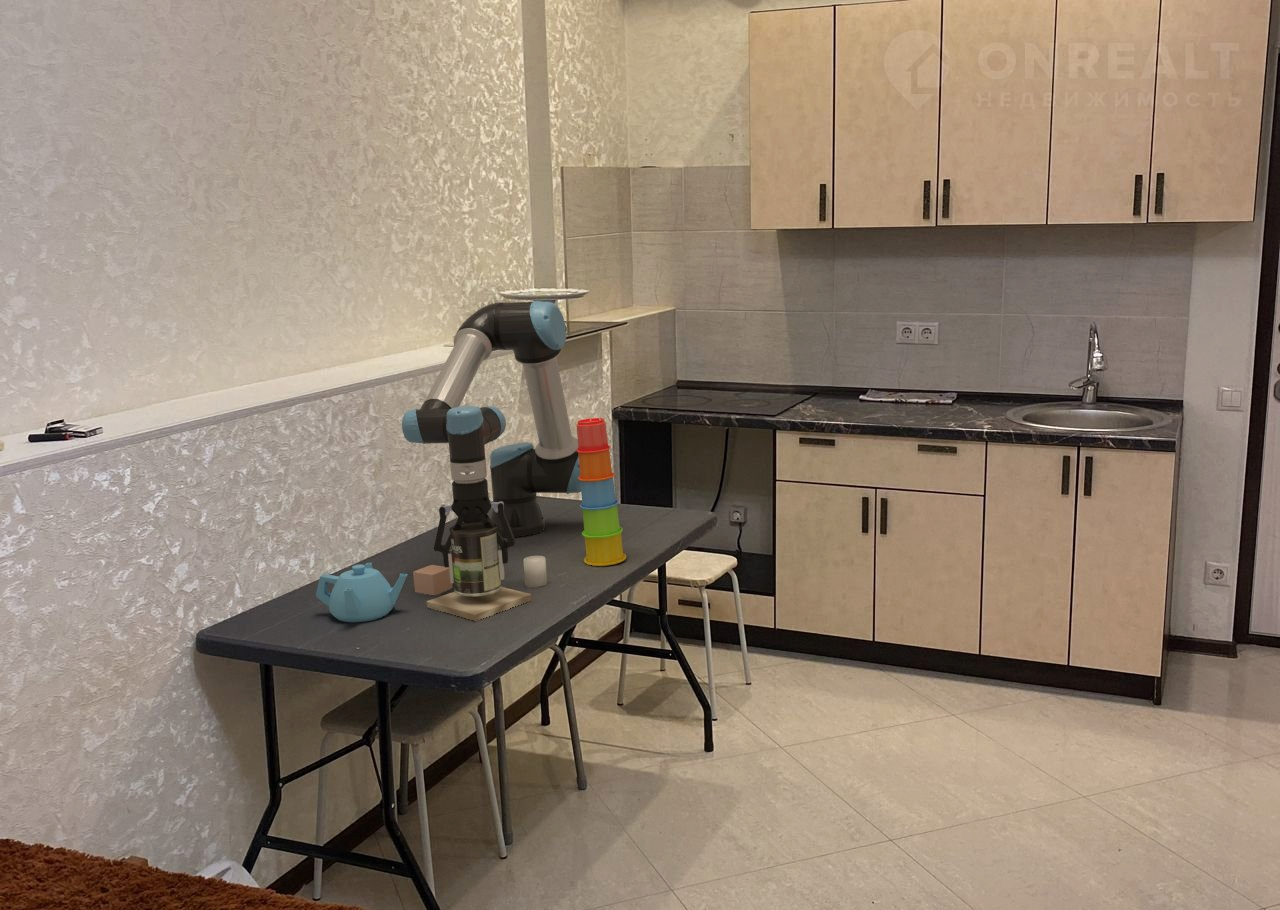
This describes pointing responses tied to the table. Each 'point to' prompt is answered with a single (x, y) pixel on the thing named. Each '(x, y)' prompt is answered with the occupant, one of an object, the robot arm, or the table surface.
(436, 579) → the terracotta block
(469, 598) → the birch board
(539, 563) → the off-white cylinder
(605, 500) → the stacking cups
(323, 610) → the table surface
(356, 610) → the teapot
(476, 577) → the coffee can
